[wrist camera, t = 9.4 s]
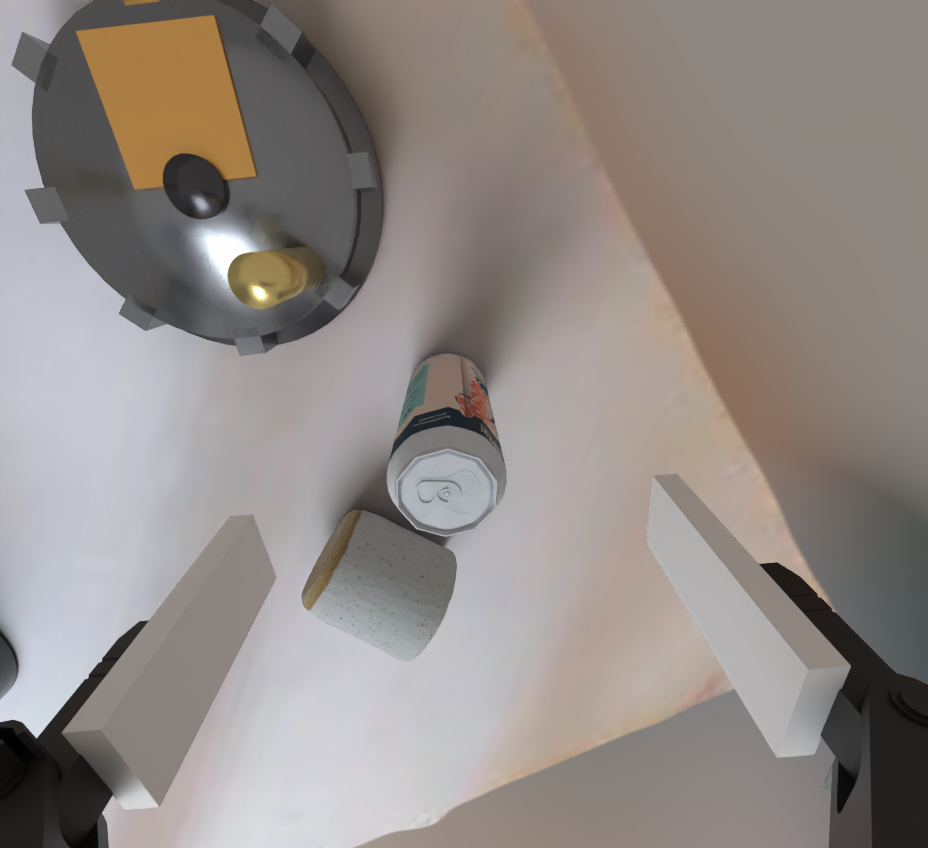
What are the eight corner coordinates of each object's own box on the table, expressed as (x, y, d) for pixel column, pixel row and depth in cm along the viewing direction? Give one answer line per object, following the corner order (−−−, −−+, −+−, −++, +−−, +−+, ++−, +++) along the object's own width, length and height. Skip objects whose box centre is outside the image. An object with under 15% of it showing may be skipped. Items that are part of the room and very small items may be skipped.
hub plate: (108, 335, 25) (102, 337, 25) (7, -33, 18) (-4, -40, 18) (383, 353, 26) (382, 355, 25) (382, 8, 19) (380, 3, 19)
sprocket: (282, 397, 26) (218, 462, 19) (4, 216, 22) (-222, 209, 14) (441, 167, 21) (437, 135, 14) (126, -127, 17) (-118, -398, 10)
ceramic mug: (359, 482, 30) (330, 561, 23) (459, 530, 32) (460, 616, 25) (299, 579, 33) (258, 673, 26) (392, 617, 35) (376, 713, 28)
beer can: (482, 423, 28) (504, 545, 17) (410, 421, 28) (385, 544, 17) (487, 351, 26) (515, 439, 15) (409, 349, 26) (380, 436, 15)
